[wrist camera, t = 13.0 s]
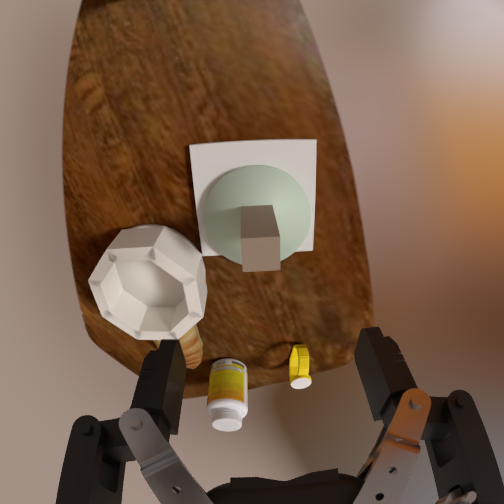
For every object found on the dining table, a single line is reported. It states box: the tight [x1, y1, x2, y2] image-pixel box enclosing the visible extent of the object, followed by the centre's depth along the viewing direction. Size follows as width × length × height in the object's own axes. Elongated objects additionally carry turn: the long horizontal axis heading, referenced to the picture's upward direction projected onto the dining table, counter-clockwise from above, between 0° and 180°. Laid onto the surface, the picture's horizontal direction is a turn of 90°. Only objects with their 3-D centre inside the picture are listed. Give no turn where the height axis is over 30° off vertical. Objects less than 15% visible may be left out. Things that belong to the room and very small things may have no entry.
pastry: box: [153, 324, 203, 369], centre depth 38 cm, size 9×7×4 cm
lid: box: [203, 165, 311, 272], centre depth 27 cm, size 11×11×8 cm
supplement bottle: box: [207, 358, 248, 431], centre depth 38 cm, size 6×6×10 cm
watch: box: [289, 344, 312, 389], centre depth 38 cm, size 6×3×6 cm, turn 174°
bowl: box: [88, 224, 207, 340], centre depth 31 cm, size 12×12×6 cm
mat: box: [189, 139, 316, 256], centre depth 29 cm, size 12×12×1 cm
